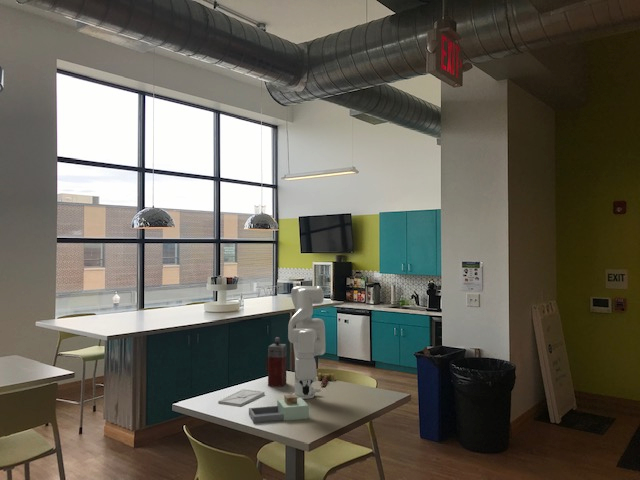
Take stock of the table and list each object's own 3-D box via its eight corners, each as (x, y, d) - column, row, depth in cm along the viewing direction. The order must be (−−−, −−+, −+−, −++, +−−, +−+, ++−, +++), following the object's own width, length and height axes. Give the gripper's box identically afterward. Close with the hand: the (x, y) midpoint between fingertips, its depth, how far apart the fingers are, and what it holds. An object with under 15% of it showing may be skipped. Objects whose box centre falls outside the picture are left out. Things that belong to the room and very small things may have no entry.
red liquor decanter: (268, 382, 314) (268, 335, 315) (286, 383, 312) (286, 336, 313) (264, 385, 305) (264, 337, 306) (282, 386, 303) (282, 338, 304)
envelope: (218, 404, 268) (240, 407, 263) (218, 400, 268) (240, 403, 263) (243, 392, 290) (264, 395, 285) (243, 388, 290) (264, 391, 285)
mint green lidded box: (300, 409, 257) (300, 397, 257) (308, 418, 244) (308, 405, 244) (277, 412, 254) (277, 399, 254) (283, 420, 240) (283, 407, 240)
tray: (277, 412, 254) (277, 405, 254) (283, 420, 240) (283, 414, 240) (248, 414, 249) (248, 408, 249) (253, 423, 236) (253, 416, 236)
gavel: (330, 382, 301) (313, 382, 302) (330, 390, 301) (313, 390, 302) (334, 372, 321) (318, 371, 323) (334, 379, 322) (318, 379, 323)
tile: (294, 400, 252) (294, 394, 252) (297, 403, 247) (297, 397, 247) (284, 401, 250) (284, 395, 250) (286, 404, 245) (286, 398, 246)
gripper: (318, 354, 257) (318, 391, 256) (289, 355, 253) (288, 393, 252) (322, 356, 250) (322, 395, 249) (292, 358, 246) (292, 397, 244)
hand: (305, 394), depth 250 cm, fingers closed
